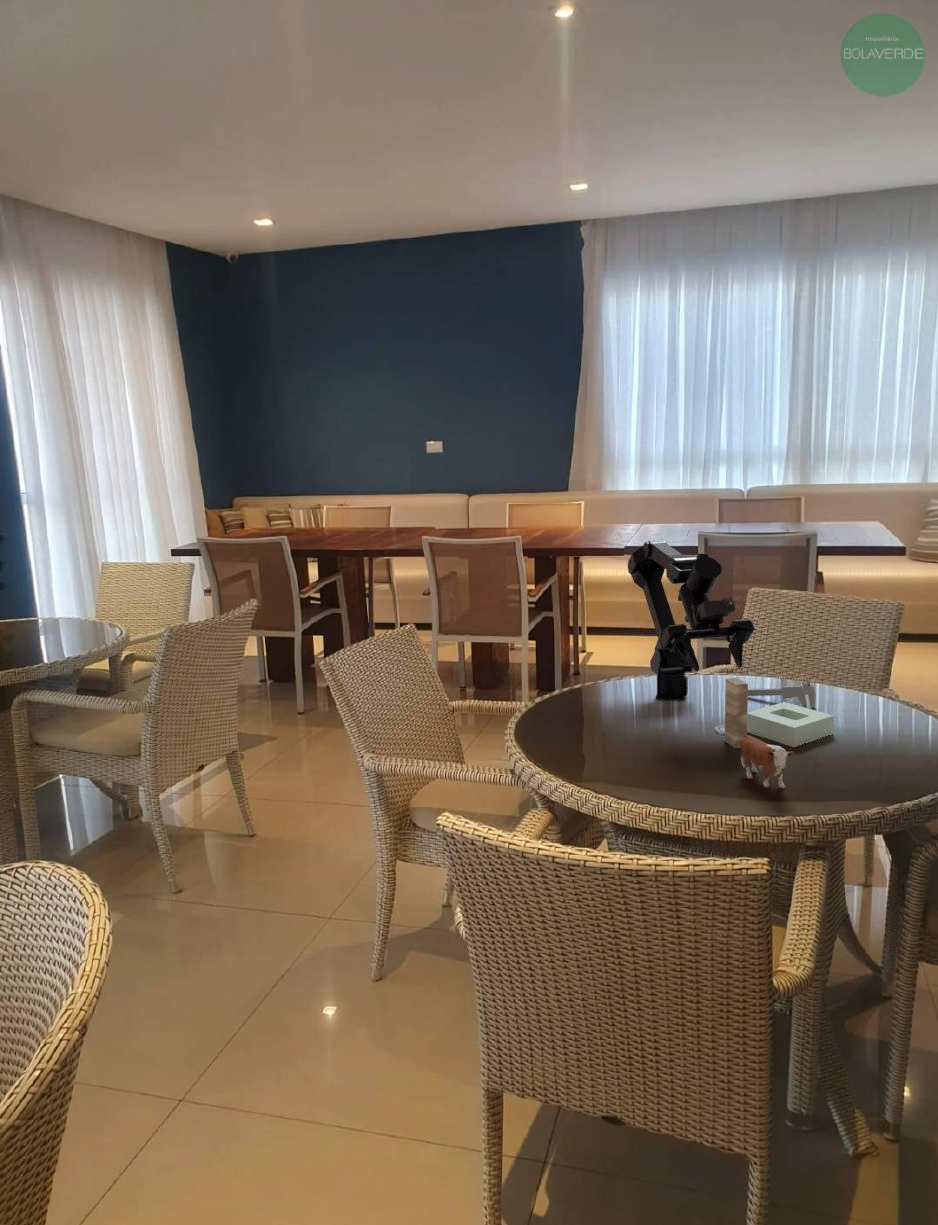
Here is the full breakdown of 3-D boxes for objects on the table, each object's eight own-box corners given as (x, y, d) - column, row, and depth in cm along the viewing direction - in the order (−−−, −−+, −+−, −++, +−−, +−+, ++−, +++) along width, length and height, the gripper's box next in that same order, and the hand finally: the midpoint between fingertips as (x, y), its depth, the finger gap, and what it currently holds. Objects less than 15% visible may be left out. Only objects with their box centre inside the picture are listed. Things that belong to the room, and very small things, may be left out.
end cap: (793, 747, 170) (794, 727, 169) (745, 731, 180) (745, 713, 180) (833, 734, 176) (833, 715, 176) (783, 719, 186) (784, 701, 186)
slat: (734, 748, 171) (735, 684, 168) (724, 741, 175) (725, 678, 173) (746, 747, 171) (747, 683, 169) (736, 739, 176) (737, 677, 173)
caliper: (815, 708, 194) (815, 681, 193) (813, 709, 193) (814, 682, 192) (727, 694, 207) (728, 669, 206) (725, 695, 206) (726, 670, 205)
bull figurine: (776, 799, 147) (777, 753, 145) (734, 771, 160) (735, 728, 158) (799, 796, 148) (800, 750, 146) (756, 768, 161) (757, 726, 159)
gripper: (666, 587, 179) (687, 651, 170) (751, 581, 182) (776, 644, 173) (652, 617, 188) (671, 680, 180) (734, 611, 191) (756, 672, 182)
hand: (719, 668), depth 178 cm, fingers open, 9 cm apart
